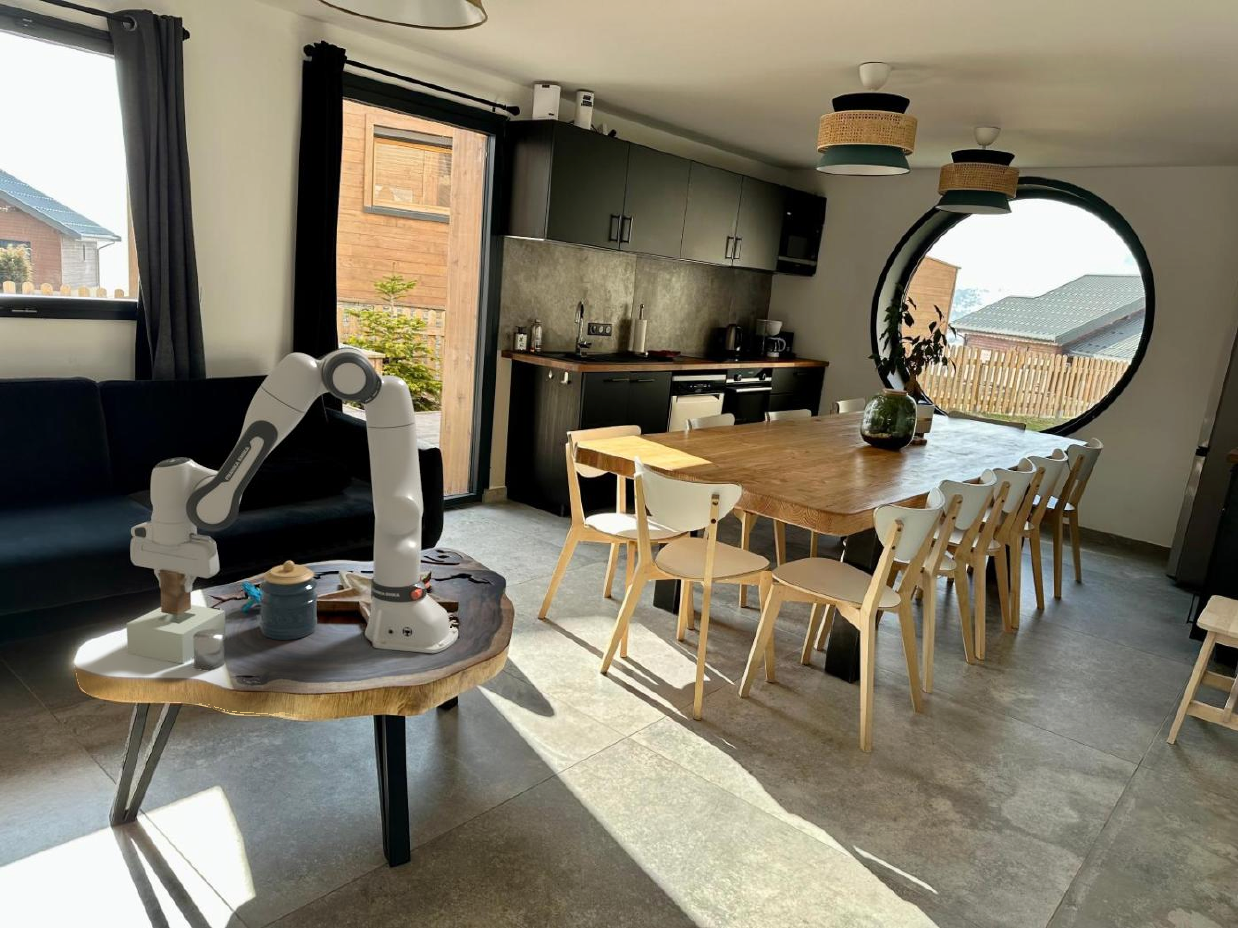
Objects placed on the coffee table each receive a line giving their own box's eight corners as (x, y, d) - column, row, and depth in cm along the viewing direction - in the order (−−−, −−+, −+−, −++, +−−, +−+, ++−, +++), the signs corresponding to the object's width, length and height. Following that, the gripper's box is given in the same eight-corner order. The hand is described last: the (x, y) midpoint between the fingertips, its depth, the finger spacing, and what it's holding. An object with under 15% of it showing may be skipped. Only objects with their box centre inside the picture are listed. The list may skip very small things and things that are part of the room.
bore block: (225, 638, 197) (224, 610, 196) (183, 663, 184) (182, 634, 182) (173, 628, 200) (172, 601, 198) (127, 652, 186) (126, 623, 185)
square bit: (190, 608, 192) (190, 567, 189) (177, 615, 187) (176, 573, 185) (174, 605, 192) (173, 564, 190) (161, 612, 188) (160, 570, 186)
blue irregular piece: (275, 611, 211) (244, 584, 207) (257, 628, 210) (226, 602, 206) (276, 600, 221) (247, 575, 218) (259, 616, 220) (229, 591, 217)
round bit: (230, 660, 187) (229, 631, 186) (212, 672, 181) (211, 642, 180) (206, 656, 188) (205, 627, 187) (187, 667, 182) (186, 637, 181)
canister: (303, 614, 214) (303, 548, 210) (326, 632, 205) (327, 564, 201) (251, 626, 205) (250, 557, 201) (273, 645, 196) (272, 574, 192)
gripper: (225, 533, 187) (226, 591, 190) (145, 520, 191) (147, 577, 194) (205, 541, 181) (206, 601, 184) (124, 527, 185) (126, 586, 188)
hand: (175, 589), depth 189 cm, fingers closed on square bit, 4 cm apart
